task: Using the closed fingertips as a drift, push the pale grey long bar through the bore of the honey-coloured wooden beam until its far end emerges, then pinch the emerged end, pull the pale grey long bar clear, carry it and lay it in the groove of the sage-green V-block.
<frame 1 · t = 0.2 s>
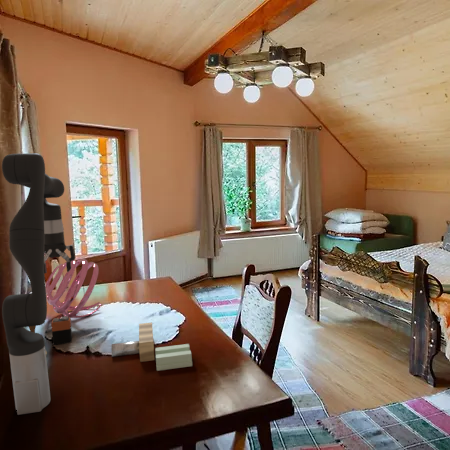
hand: (57, 272, 154), 29 cm above the table, fingers open, 8 cm apart
battery: (63, 342, 158), on the table
pale grey long bar: (131, 347, 145), point 2 cm above the table
beam: (147, 352, 146), on the table
v block: (173, 361, 138), on the table
spiral basket: (75, 315, 188), on the table
hand bell: (35, 356, 146), on the table
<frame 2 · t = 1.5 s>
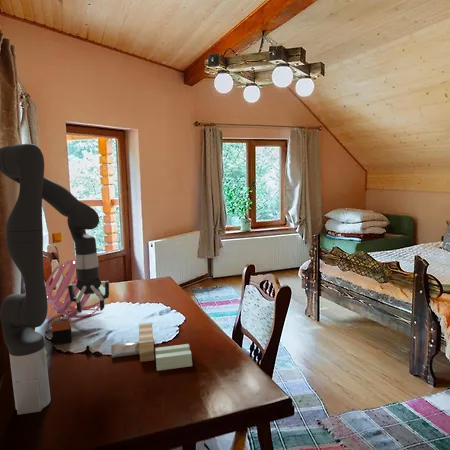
hand: (91, 310, 140), 18 cm above the table, fingers open, 6 cm apart
pale grey long bar: (131, 348, 144), point 2 cm above the table, tilted 24°
everything else where it was.
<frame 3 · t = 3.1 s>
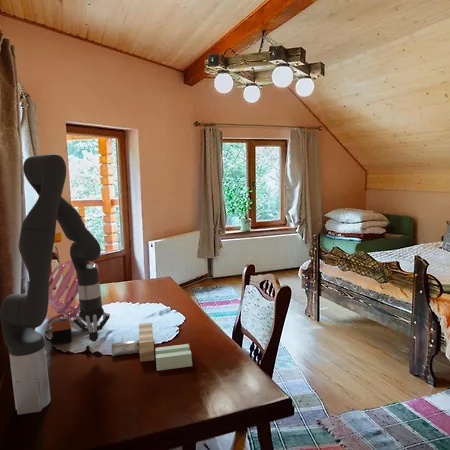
hand: (94, 340, 143), 6 cm above the table, fingers closed
pale grey long bar: (131, 347, 146), point 2 cm above the table, tilted 13°
everything else where it was.
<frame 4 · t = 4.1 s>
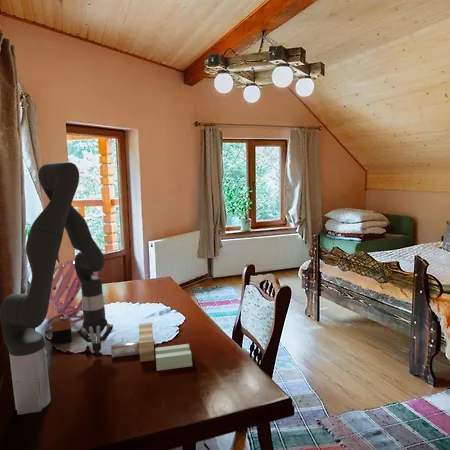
hand: (97, 351, 143), 2 cm above the table, fingers closed
pale grey long bar: (131, 348, 144), point 2 cm above the table, tilted 25°
everything else where it was.
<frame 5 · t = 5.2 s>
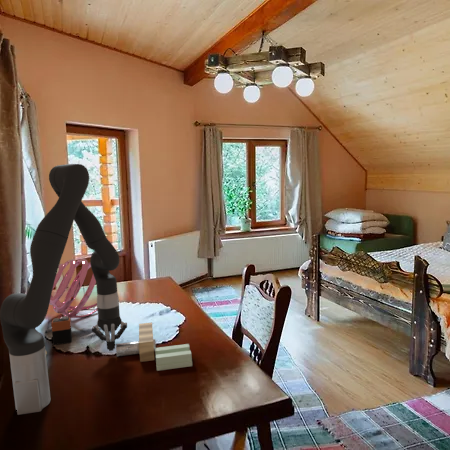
hand: (111, 349, 144), 2 cm above the table, fingers closed
pale grey long bar: (136, 347, 145), point 2 cm above the table, tilted 19°, touching gripper
everything else where it was.
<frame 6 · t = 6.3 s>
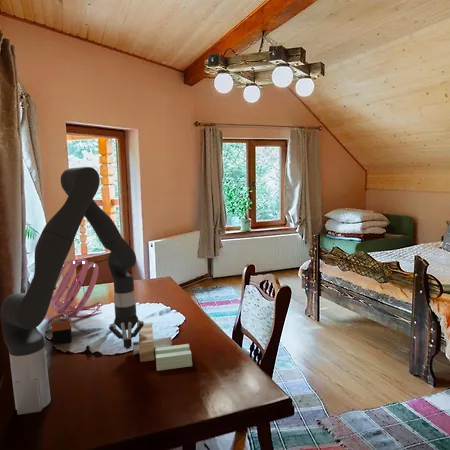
hand: (128, 347, 145), 2 cm above the table, fingers closed
pale grey long bar: (152, 345, 146), point 2 cm above the table, tilted 18°, touching gripper
everything else where it was.
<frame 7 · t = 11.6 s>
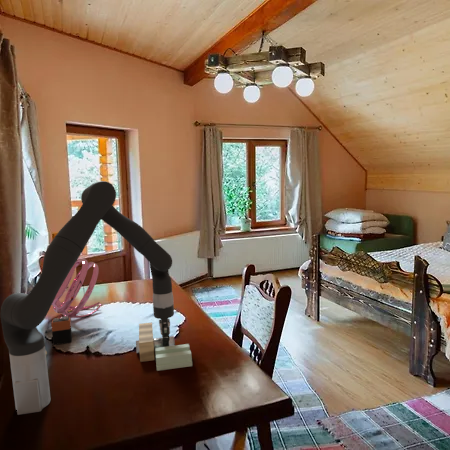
hand: (165, 346, 148), 1 cm above the table, fingers closed on pale grey long bar, 4 cm apart
pale grey long bar: (155, 344, 147), point 2 cm above the table, touching gripper
everything else where it was.
when the fingers open (5 cm above the table, at t = 17.0 s): pale grey long bar stays where it is, resting on v block.
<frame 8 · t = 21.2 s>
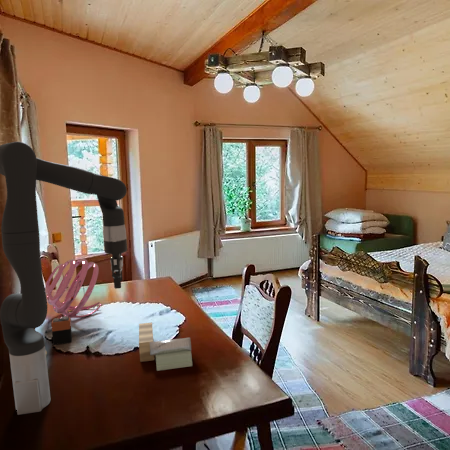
hand: (118, 284, 135), 28 cm above the table, fingers open, 8 cm apart
pale grey long bar: (170, 346, 137), point 6 cm above the table, touching v block
everything else where it was.
at the end: pale grey long bar inside the target area on the v block (0.8 cm from its centre), point 5.7 cm above the v block's base; the gripper is holding nothing; pale grey long bar touching v block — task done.
